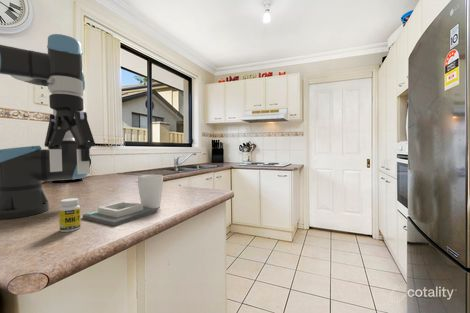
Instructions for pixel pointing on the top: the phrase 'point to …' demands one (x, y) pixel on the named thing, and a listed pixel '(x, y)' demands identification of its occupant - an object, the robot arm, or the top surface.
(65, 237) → the top surface
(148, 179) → the cup
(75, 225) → the supplement bottle
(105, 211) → the dock
